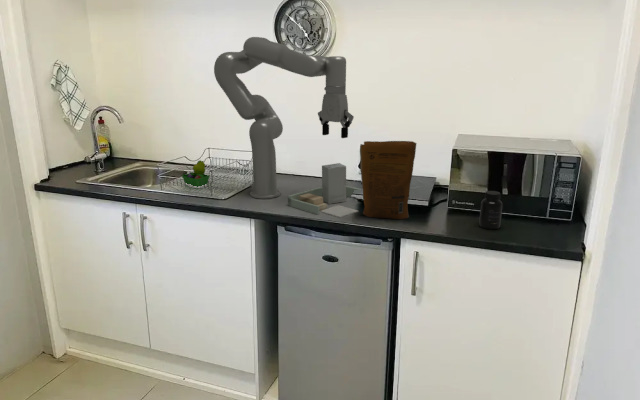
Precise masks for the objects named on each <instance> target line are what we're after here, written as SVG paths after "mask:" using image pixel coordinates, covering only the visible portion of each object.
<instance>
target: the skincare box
mask: <svg viewBox="0 0 640 400" xmlns="http://www.w3.org/2000/svg"><path fill="white" fill-rule="evenodd" d="M321 185H322V186H321V187H322V197H323V203H325V204H327V205H331V204H333V205H334V204H337V203H344V202H347V196H346V186H347V166H346V165H345V164H342V163H340V162H338V163H337V162H336V163H331V164H325V165H321Z"/></svg>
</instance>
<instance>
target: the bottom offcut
mask: <svg viewBox="0 0 640 400" xmlns="http://www.w3.org/2000/svg"><path fill="white" fill-rule="evenodd" d="M317 206H320V211H322V210H325V209H328V204H327V203H326V202H323V204H320V205H317Z"/></svg>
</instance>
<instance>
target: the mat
mask: <svg viewBox="0 0 640 400" xmlns="http://www.w3.org/2000/svg"><path fill="white" fill-rule="evenodd" d="M320 213H323V214H327V215H329V216H333V217H336V218H339V219H341V218H344V217H348V216H350V215H352V214H355V213H359V210H358V209H354V208H350V207H346V206H343V205H334V206H331V207H329V208H328V207H327V209H325V210H321V211H320Z"/></svg>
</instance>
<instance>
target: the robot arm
mask: <svg viewBox="0 0 640 400" xmlns="http://www.w3.org/2000/svg"><path fill="white" fill-rule="evenodd" d="M263 63H264V64H267V65H269V66H273V67H277V68H280V69H282V70H285V71H288V72H290V73H293V74H297V75H300V76H304V77H308V78H314V77H321V76H322V77H325V87H324V91H325V93H324V94H323V96H322V102H321V103H322V104H321V110H320V111H318V112H317V116H318V118H319V119H318V120H319V121H320V124H321V125H322V129H321V131H322V132H321V133H322V136H328V135H329V134H330V124H329V123H330V122H332V123H340V125H341V127H340V128H341V129H340V130H341V131H340V138H341V139H346V138H349V127H350V126H351V124H352V123H353V120H354V118H355V116H354V115H353V114H351V113H350V112H349V103H348V97H347V93H346V92H347V89H346V88H347V87H346V85H347V83H346V82H347V59H346V57H344V56H340V55H339V56H337V55H336V56H333V55H331V56H324V55H310V54H306V53H303V52H299V51H295V50H293V49H290V48H289V46H288V45H285V44H282V43H279V42H275V41H271V40H270V39H268V38H265V37H260V36H251V37H248V38H247V39H246V40H245V41H244V43H243V47H242V50H240V51H227V52H223V53H221V54H219V55H218V57H217V58H216V60H215V62H214V66H213V74H214V78H215V80H216V82H217V84H218V86H219V87H220V88H221V90H222V91H223V92H224V94H225V95H226V97H227V98H228V100H229V102H231V104H232V106H233V108H234V109H235V110H236V112H237V114H238V115H239V116H240V118H242V119H244V120H246V121H250V120H251V121H252V120H254V122H252V124H251V125H250V126H249V132H248V135H249V141H250V146H251V157H252V159H251V160H252V175H253V176H252V179H253V182H251V183H250V184H249V187H250V188H252V191H250V193H249V194H250V197H251V198H255V199H261V200H262V199H264V200H265V199H274V198H277V197H279V196H280V195H281V190H279V189H278V188H277V184H278V183H277V157H276V155H277V154H276V147H275V143H274V140H275V139H278V138H279V137H281V135H282V134H283V130H284V129H283V127H284V126H283V122H282V121H281V119H280V117H279V116H278V115H277V113H276V111H275V110H274V108H273V107H272V105H271V104H270V102H269V101H268V100H267V98H265V97H264V96H262V95H260V94H252V92H250V90H249V89H248V87H247V86H246V84H245V83H244V82H243V81H242V80H241V78H239V77H238V75H239V74H241V75H242V74H245V73H248V72H250V71H251V70H253V69H254V68H256V67H258V66H259V65H261V64H263Z"/></svg>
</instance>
